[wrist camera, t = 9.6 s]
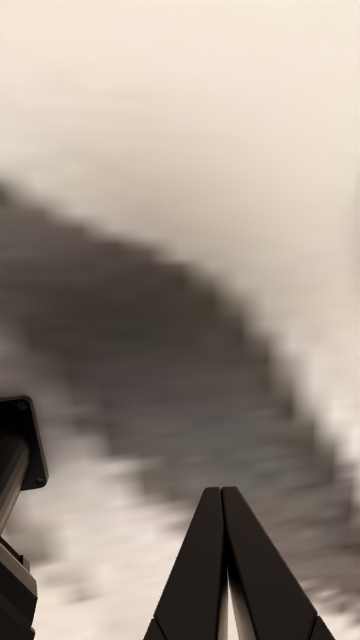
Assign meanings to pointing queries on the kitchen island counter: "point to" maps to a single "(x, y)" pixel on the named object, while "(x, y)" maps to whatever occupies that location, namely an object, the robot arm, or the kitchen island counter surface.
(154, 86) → the kitchen island counter surface
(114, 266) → the kitchen island counter surface
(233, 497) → the robot arm
